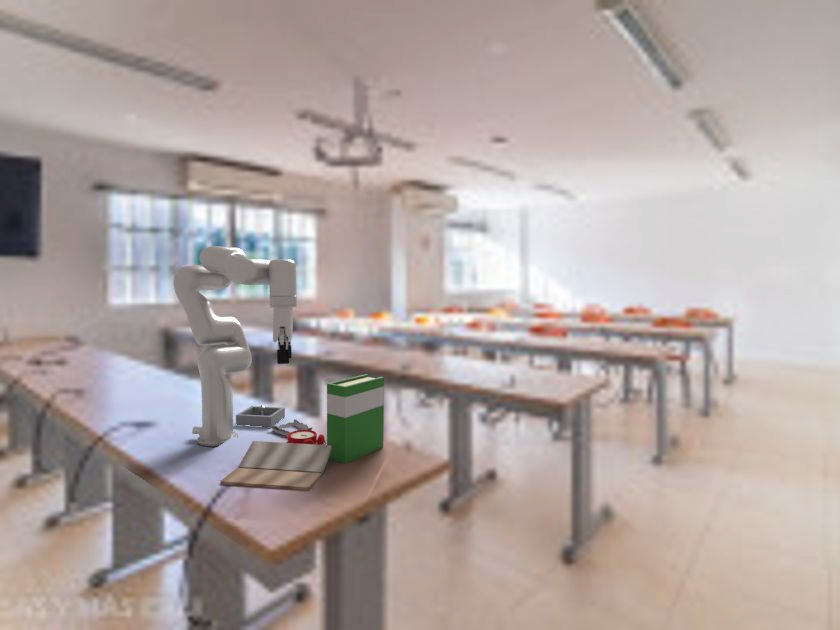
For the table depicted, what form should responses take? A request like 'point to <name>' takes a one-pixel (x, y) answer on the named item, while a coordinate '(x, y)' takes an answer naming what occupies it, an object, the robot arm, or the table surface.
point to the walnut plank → (271, 478)
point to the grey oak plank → (286, 457)
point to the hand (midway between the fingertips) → (284, 360)
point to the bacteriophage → (262, 410)
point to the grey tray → (260, 416)
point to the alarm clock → (305, 437)
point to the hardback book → (355, 417)
